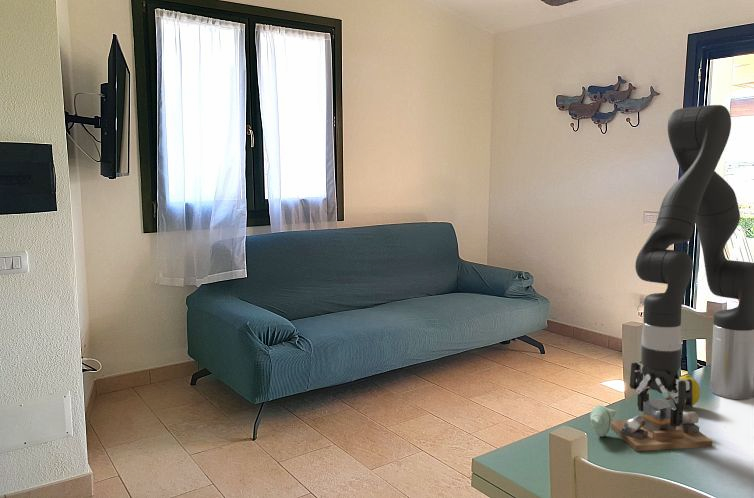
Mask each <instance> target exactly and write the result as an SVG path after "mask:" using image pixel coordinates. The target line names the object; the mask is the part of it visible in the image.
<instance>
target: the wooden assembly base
mask: <svg viewBox="0 0 754 498" xmlns="http://www.w3.org/2000/svg"><path fill="white" fill-rule="evenodd" d="M636 416H637V415H635V416H634V417H636ZM640 416H641V417H642V418H643V415H640ZM630 419H631V418H628V419H613V420H612V423H611V427H610V429H611V430H613V431H614V432H615V433H616V435H618V436H619V437H620V438H621V439H622V440H623V441H624V442H625V443H626V444H627V445H629V447H631V448H632V449H633V450H634V451H636V452H644V451H647V452H648V451H662V450H675V449H676V450H677V449H692V448H693V449H694V448H707V447H713V440H712V439H710V438H709V437H707V435H705V434H703V433H702V432H700V427H699V426H698V425H697V424H698V423H699V415H698V413H697V412H696V411H683V419H682V420H683V422H682V424H681V425H680V426H677V427H676V430H663V431H653V433H651V432H649V431H648V437H647V438H645V439H643V440H639V439H636V438H634V437H631V436H628V435H625V434H622V427H624V424H625V422H627V421H628V420H630ZM640 429H642V430H645V429H643V427H642V428H640ZM645 431H647V430H645Z"/></svg>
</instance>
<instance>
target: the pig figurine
mask: <svg viewBox="0 0 754 498" xmlns="http://www.w3.org/2000/svg"><path fill="white" fill-rule="evenodd" d="M616 413H617V411H616V410H614V409H610V408H607V407H606V406H605V405H602V404H599V405H598V404H597V405H595V406H594V407H593V408H592V410H591V411H590V415H589V417H590V421H591V422H590V423H591V426H592V429H593V430H594V432H595V434H596V435H597V436H598V437H602V438H603V437H605V436H606V435H607V434H608V433H609V432H610V429H611V423H612V420H614V416H615V414H616Z"/></svg>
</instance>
